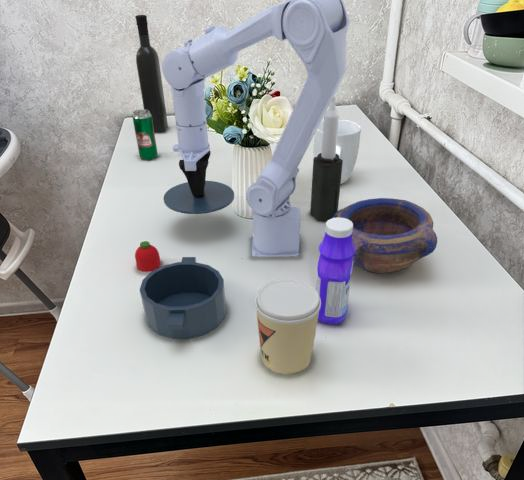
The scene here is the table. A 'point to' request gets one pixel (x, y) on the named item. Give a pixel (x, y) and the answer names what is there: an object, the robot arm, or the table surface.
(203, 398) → the table surface
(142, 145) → the soda can
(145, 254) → the strawberry
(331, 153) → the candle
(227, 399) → the table surface
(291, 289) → the coffee cup
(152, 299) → the pot
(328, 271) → the bottle
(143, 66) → the wine bottle
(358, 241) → the bowl
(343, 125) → the mug
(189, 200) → the lid
